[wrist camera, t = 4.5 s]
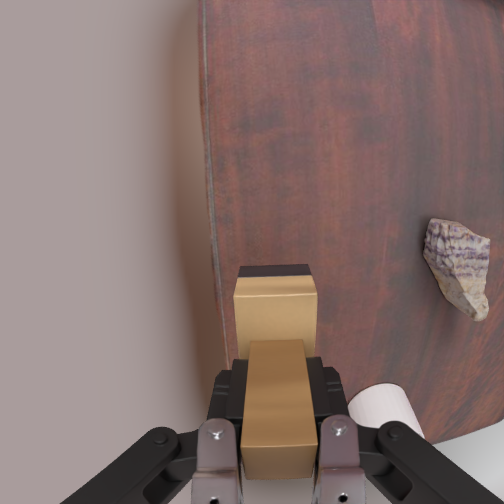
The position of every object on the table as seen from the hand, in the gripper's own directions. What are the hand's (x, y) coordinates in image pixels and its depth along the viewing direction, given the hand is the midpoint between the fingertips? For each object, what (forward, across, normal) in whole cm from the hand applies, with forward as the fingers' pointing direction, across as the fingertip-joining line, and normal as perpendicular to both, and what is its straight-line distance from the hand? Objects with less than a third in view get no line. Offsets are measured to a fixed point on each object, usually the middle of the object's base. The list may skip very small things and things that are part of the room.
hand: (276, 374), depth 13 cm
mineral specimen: (+19, -20, +2) cm, 28 cm away
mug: (+19, -13, +24) cm, 33 cm away
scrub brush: (+5, 0, 0) cm, 5 cm away
